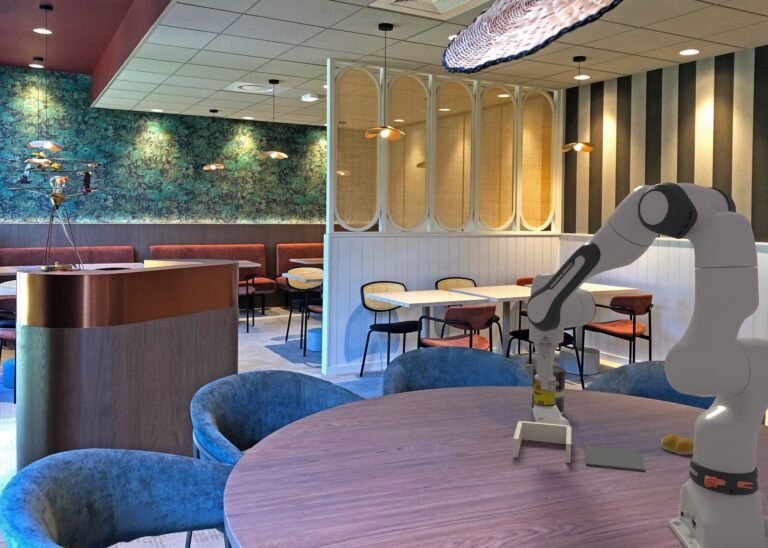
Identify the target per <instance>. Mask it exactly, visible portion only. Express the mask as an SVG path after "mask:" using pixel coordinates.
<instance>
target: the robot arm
mask: <svg viewBox="0 0 768 548" xmlns="http://www.w3.org/2000/svg"><path fill="white" fill-rule="evenodd" d="M659 235H661V236H664V237H670V238H673V239H675V240H676V239H677V240H680V239H682V238H685V239H686V240H688V241H690V243H691V244H692V247H693V252H694V306H693V312H692V316H691V319H690V321H689V324H688V326H687V329H686V330H685V332H684V334H683V335H682V337H681V338H680V339H679V341H678V342H677V343H675V345H673V346H672V347H671V348H670V349H669V350H668V352H667V354H666V356H665V359H664V367H663V370H664V373H665V377H666V378H665V379H666V380H667V381H668V383H669V385H670V386H671V388H673V390H675V391H676V392H677V393H680V394H683V395H688V396H693V397H701V398H708V397H709V398H710V397H712V398H713V397H715V399H714V401H713V403H712V404H711V405H710V406H709V408H708V409H706V410H705V411H703V412H702V413H700V415H699V416H698V417H697V418H696V421H695V423H694V428H693V429H694V430H693V434H694V435H693V441H694V447H693V455H692V456H691V457H690V461H689V462H690V463H689V468H688V469H689V479H688V480H687V481H686V482H685V483H683V484H682V485H681V486H680V491H679V493H680V494H679V502H678V510H677V512H678V513H677V517H675V518H670V519H669V520H668V521H669V522H668V526H669V528H670V530H671V531H672V532H673V533H674V535H675V536H676V537H677V539H679V541H680V542H681V543H682V545H683V547H684V548H768V520H764V515H765V516H766V515H768V507H766V506H763V504H762V502H763V501H762V500H763V494H761V492H760V491H759V473H758V468H757V466H756V463H757V461H756V459H757V452H758V451H757V450H758V449H757V448H758V439H759V433H760V429H761V425H762V422H763V420H764V417H765V415H766V412H767V411H768V339H765V338H759V337H758V338H757V337H749V338H748V337H746V338H745V337H744V338H742V337H741V338H738V335H739V331H740V328H741V327H742V325H743V323H744V322H745V321H746V319H747V318H749V317H751V316H752V315H753V314H755V312H756V311H757V310H758V307H759V306H760V305H759V304H760V297H759V295H760V291H759V267H758V266H759V265H758V254H757V252H758V251H757V246H756V241H755V236H754V231H753V228H752V224H751V221H750V220H749V219H748V217H746V216H745V215H743V214H742V213H740V212H739V213H738V212H737V206H736V203H735V201H734V199H733V197H731V195H729V194H728V193H727V192H726V191H724V190H722V189H719V188H716V187H713V186H711V187H710V186H709V187H707V186H704V185H700V184H699V185H698V184H695V183H690V182H676V183H675V182H671V181H670V182H660V183H657V184H653V185H649V184H648V185H647V184H643V185H640V186H637V187H635V188H634V189H633V190H632V191H631V192H629V193H628V194H627V196H626V197H624V199H622V201H621V202H620V203H619V204H618V205H617V206H616V207H615V209H614V210H613V211H612V213H610V215H609V217H608V218H607V219H606V221H605V222H604V223H603V224H602V226H601V227H600V228H599V229H598V230H597V231H596V232H595V233H594V234H593V236H591V237H590V238H589V239H587V241H585V243H583V244H582V245H581V246H580V247H578V248H577V249H576V250H575V251H574V252H573V254H571V255H570V257H569V258H567V260H566V261H565V262H564V263H563V264H562V266H561V267H560V268H559V269H558V270H557V271H556V272H553V273H551V272H550V273H542V274H538V275H536V276H535V277H533V280H532V282H531V287H530V295H529V298H528V301H527V303H526V307H525V308H526V309H525V310H526V311H525V312H526V316H527V319H528V321H529V327H528V328H529V329H528V330H529V331H528V334H529V335H528V340H529V341H530V342H533V347H534V348H536V350H537V351H536V353H537V354H536V366H537V375H538V376H540V379H541V389H542V390H547V389H548V379H549V377H550V376H551V374H552V367H553V366H554V360H555V353H556V349H559V344H561V343H563V342H564V339H565V338H564V337H565V335H564V333H565V329H569V328H575V327H582V326H585V325H588V324H591V322H592V321H593V320H594V318H595V316H596V311H597V306H596V301H595V298H594V296H593V295H592V293H590V292H589V290H586V289H582V288H581V287H582V285H583V284H584V283H585V282H586V281H588V280H589V279H590V278H592V277H594V276H596V275H599V274H601V273H605V272H607V271H611V270H615V269H619V268H623V267H624V268H625V267H626V266H629V265H632V264H633V263H635V262H636V261H637V260H638V259H639V258H641V257H642V256H643V255H644V254H645V253H646V251H648V249H649V248H650V246H651V245H652V244H653V243H654V241H655V240H656V238H658V236H659Z"/></svg>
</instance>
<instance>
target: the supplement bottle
mask: <svg viewBox="0 0 768 548" xmlns="http://www.w3.org/2000/svg"><path fill="white" fill-rule="evenodd" d="M555 390H556V377H555V376H553V369H552V374H551V376H550V377H549V379H548V389H547V390H542V389H541V379H540V376H538V375H535V377H534V405H535V406H536V407H538V408H544V409H549V408H553V407H554V406H555Z"/></svg>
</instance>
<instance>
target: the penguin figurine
mask: <svg viewBox="0 0 768 548" xmlns="http://www.w3.org/2000/svg"><path fill="white" fill-rule="evenodd" d="M532 413H533V414H532V415H533V417H534V419H535V421H534V422H537V423H548V424H559V425H570V421H569V420H568V419H566V418H565V417H564V416H563V414H561V413H560V411H559V410H558V408H557V406H556V405H555V406H554V407H553V408H549V409H544V408H538V407H536V406H535V405H534V408H533V411H532ZM570 426H571V425H570Z"/></svg>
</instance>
